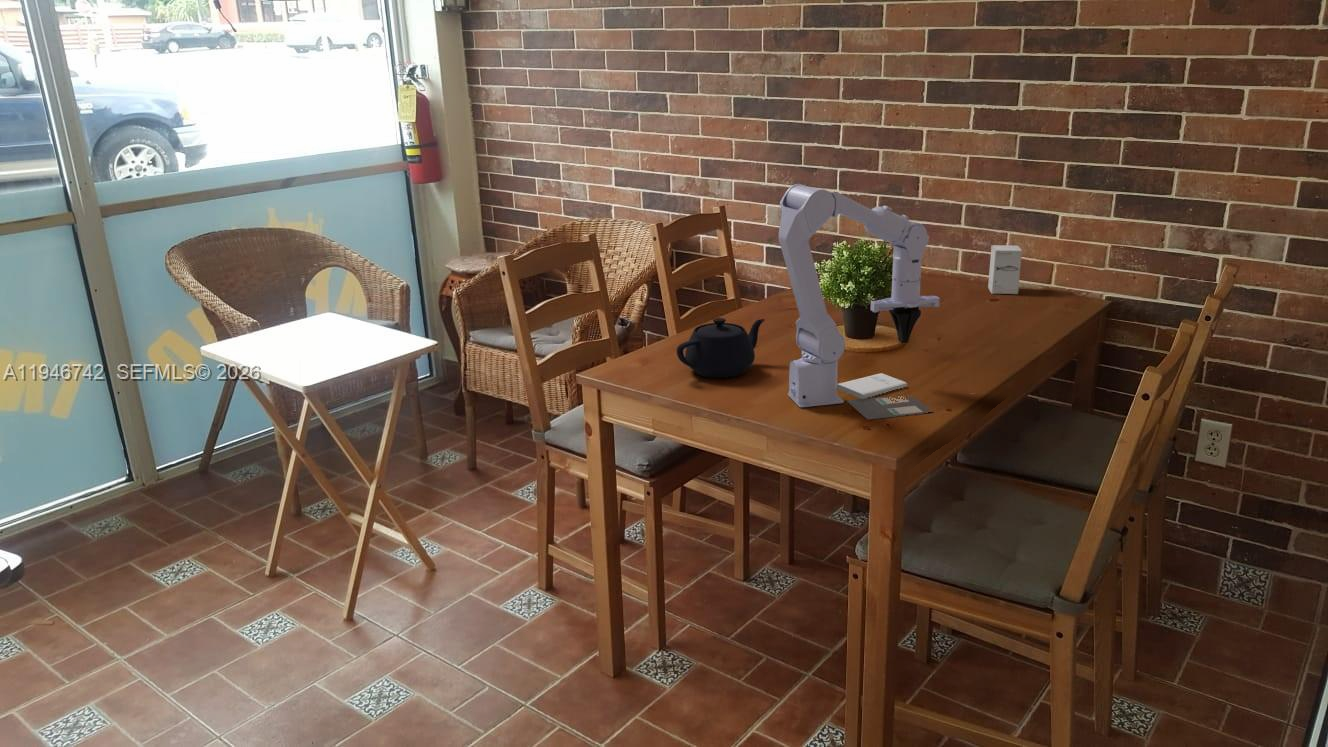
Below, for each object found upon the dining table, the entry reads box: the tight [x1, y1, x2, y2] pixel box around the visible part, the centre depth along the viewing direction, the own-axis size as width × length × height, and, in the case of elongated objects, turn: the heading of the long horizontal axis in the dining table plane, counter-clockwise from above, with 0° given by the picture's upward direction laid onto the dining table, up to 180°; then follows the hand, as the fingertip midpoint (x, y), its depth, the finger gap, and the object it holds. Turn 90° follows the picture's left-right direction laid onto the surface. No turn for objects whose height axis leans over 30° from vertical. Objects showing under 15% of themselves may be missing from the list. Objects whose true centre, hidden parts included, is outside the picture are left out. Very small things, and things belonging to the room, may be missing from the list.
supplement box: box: [987, 244, 1023, 295], centre depth 288 cm, size 7×7×13 cm
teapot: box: [676, 317, 766, 379], centre depth 229 cm, size 25×16×12 cm, turn 126°
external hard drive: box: [837, 372, 908, 399], centre depth 217 cm, size 2×8×12 cm
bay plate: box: [846, 393, 933, 421], centre depth 206 cm, size 14×11×1 cm
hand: (903, 341), depth 216 cm, fingers closed
